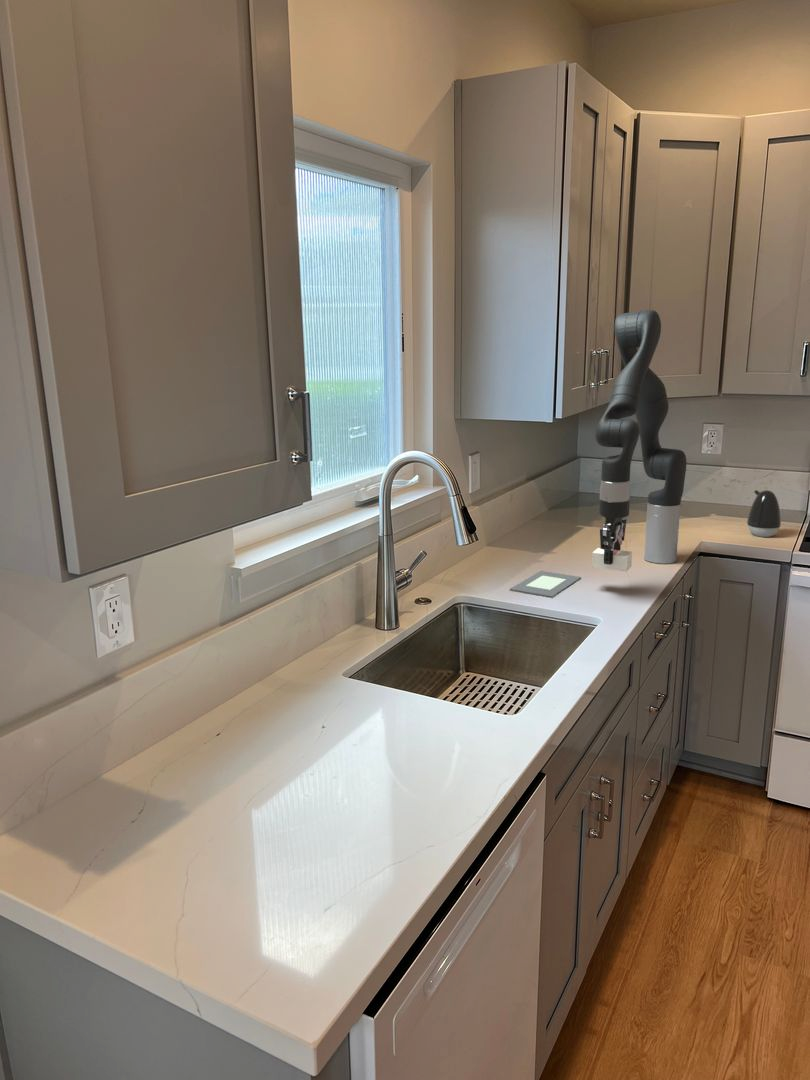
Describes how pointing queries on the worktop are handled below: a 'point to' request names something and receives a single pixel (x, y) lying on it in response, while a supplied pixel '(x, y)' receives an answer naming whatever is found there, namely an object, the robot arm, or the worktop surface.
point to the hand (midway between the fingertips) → (611, 560)
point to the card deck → (620, 560)
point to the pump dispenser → (764, 515)
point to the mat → (545, 583)
